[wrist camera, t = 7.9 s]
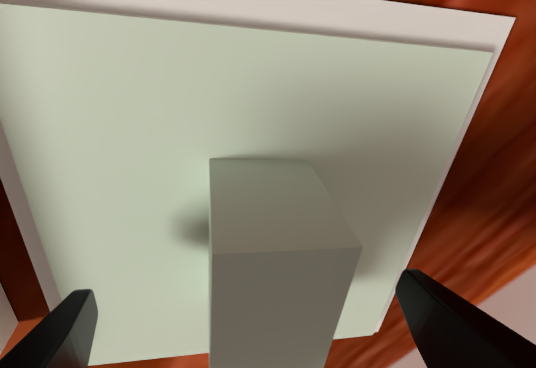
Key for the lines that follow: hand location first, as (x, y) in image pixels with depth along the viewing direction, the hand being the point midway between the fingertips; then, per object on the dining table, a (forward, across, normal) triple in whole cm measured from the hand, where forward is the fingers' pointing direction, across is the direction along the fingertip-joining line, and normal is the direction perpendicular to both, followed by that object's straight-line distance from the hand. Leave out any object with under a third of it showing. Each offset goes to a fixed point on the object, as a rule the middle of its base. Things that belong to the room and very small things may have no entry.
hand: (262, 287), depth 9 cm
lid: (+3, 0, 0) cm, 3 cm away
